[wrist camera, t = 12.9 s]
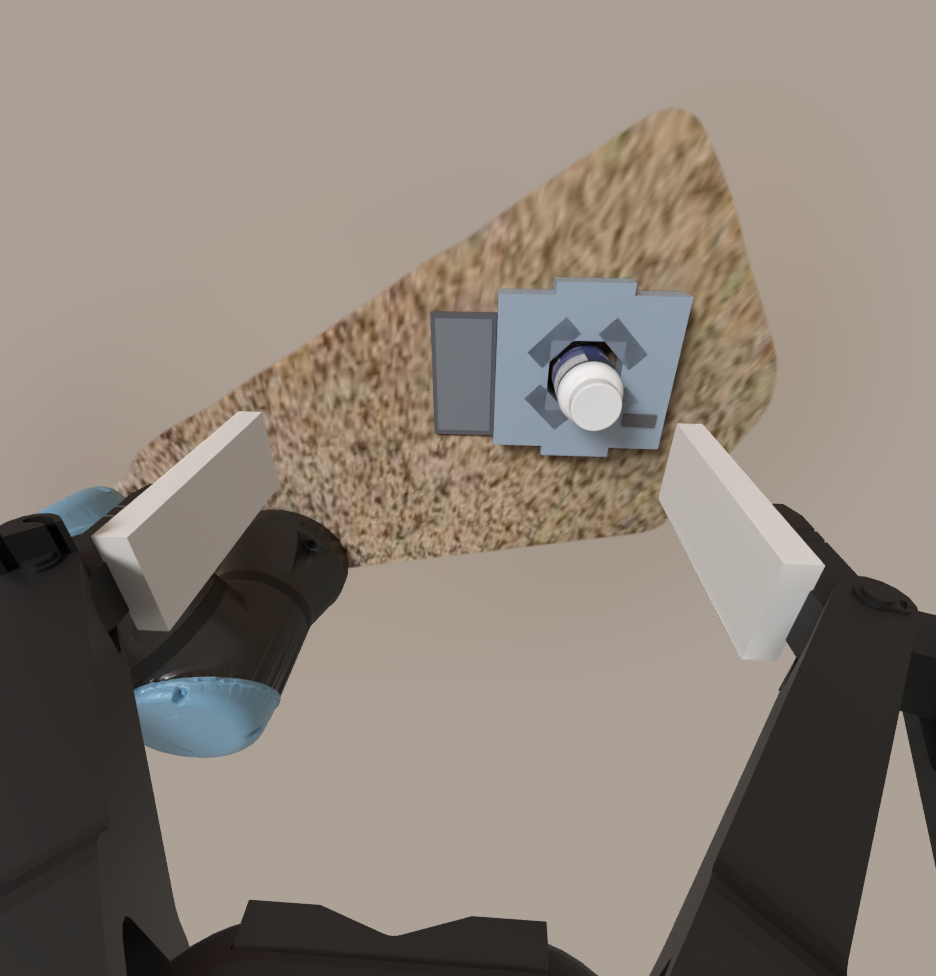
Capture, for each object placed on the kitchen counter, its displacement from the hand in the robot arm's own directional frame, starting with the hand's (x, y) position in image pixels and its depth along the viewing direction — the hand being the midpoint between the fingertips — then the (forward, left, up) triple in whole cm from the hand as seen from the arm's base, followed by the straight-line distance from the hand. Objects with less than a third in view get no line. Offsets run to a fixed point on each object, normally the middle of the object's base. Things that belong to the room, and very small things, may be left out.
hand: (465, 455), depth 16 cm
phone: (-2, -8, -32) cm, 33 cm away
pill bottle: (+9, -7, -32) cm, 34 cm away
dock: (+9, -7, -32) cm, 34 cm away
